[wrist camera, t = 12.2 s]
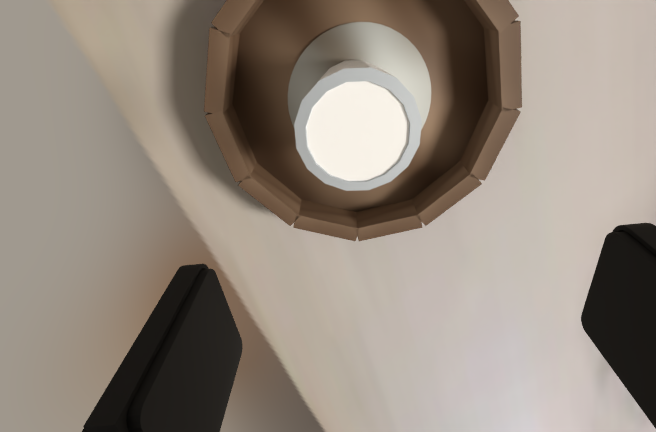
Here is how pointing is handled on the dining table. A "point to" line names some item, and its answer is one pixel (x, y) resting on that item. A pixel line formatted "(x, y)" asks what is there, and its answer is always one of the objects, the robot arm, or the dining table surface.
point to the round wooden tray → (393, 57)
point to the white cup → (357, 127)
